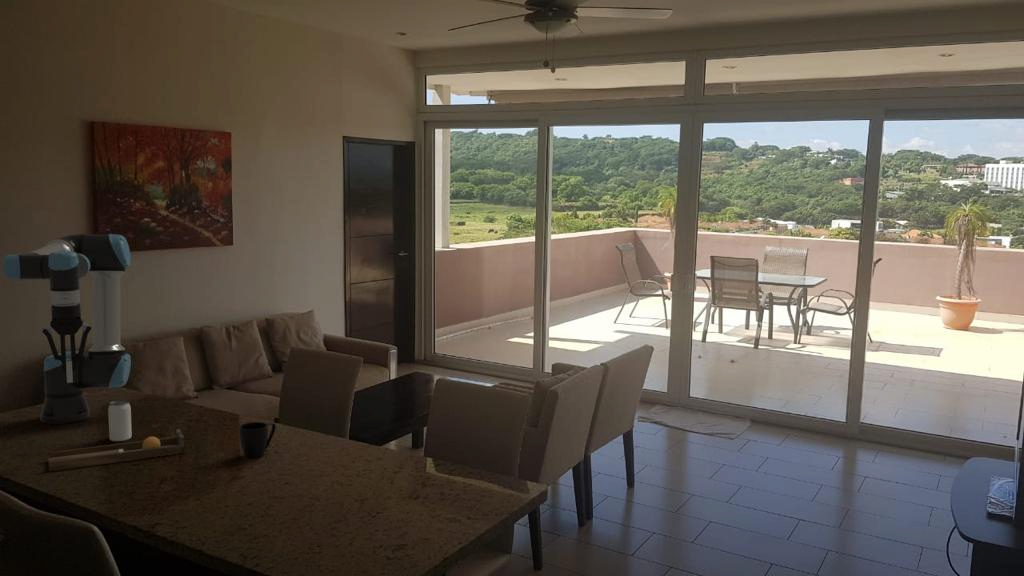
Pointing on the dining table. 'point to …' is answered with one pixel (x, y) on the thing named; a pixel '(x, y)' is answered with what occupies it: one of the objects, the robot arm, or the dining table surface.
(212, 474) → the dining table surface
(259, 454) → the mug
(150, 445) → the ball
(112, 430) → the can
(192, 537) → the dining table surface
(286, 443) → the dining table surface
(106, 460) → the lane
